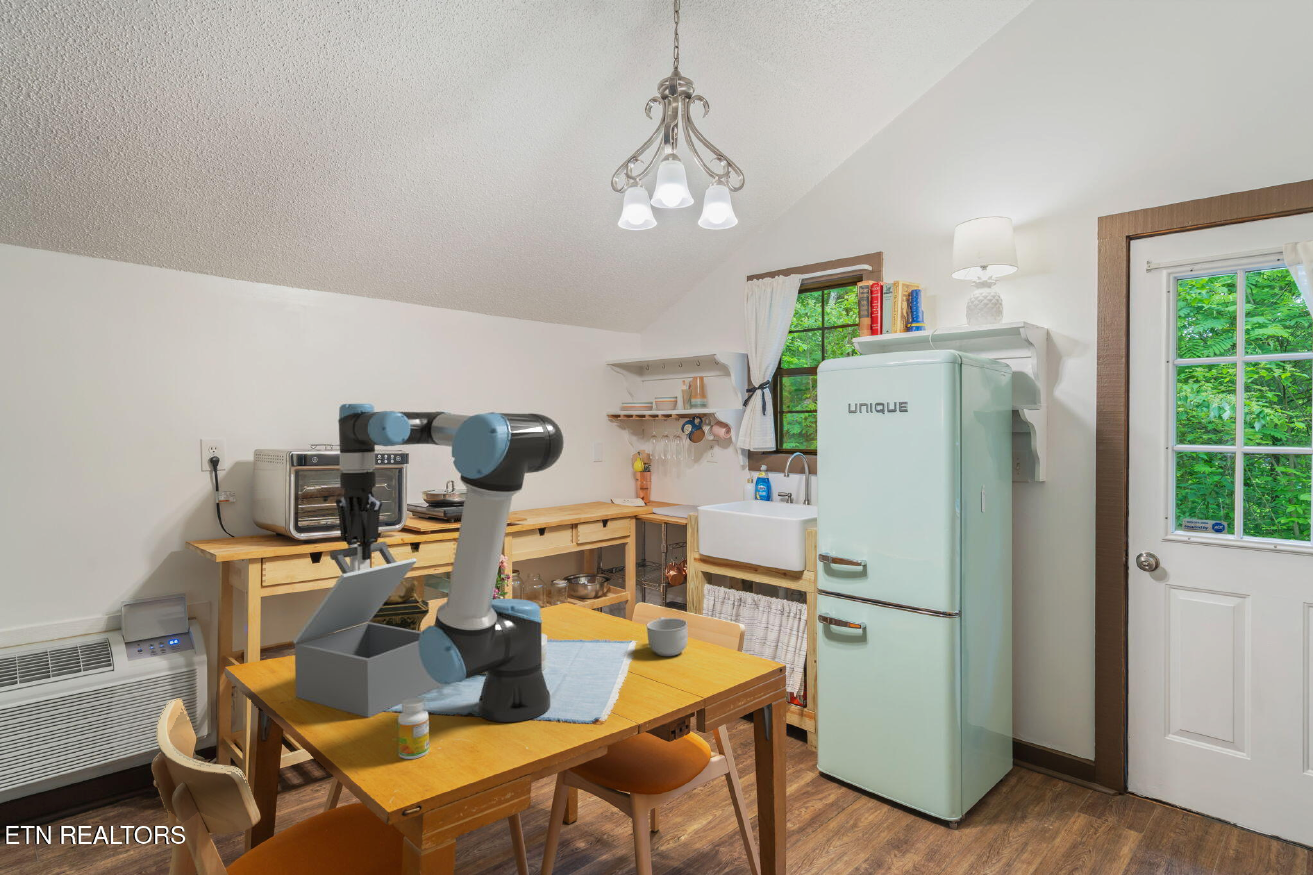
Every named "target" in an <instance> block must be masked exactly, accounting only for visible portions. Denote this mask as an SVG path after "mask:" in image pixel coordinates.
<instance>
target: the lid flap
mask: <svg viewBox="0 0 1313 875" xmlns="http://www.w3.org/2000/svg"><path fill="white" fill-rule="evenodd" d="M357 552H358V551H357V547H351V548H348V547H346V548H341V549H335V550H332V551H330V552H329V557H330V559H331V560H332V561H334V562H335V564H336V566H337V567H338V569H339V570H340V572H341V573H342V574H340V575H339V577H338V578H337V579H336V580H335V584H334V585H333V587H331V589H330V590H329V592H328V593H327V594H326V595H325V596H324V598H323V600H322V601H321V602H320V604H319V605H318V606H317V608H316V609H315V610H314V612H313V613H312V615H311V616H310V617H309V619H308V620H307V622H305V624H304V626H303V627H302V628H301V630H300V631H299V633H298V634H297V635H296V636H295V638H294V639H293V640H292V641H293V644H294V645H295V644H298V643H301V642H304V641H308V640H311V639H314V638H318V637H321V636H324V635H328V634H331V633H335V632H338V631H341V630H345V629H348V628H351V627H355V626H358V625H361V624H365V623H368V622H369V621H370V620H371V619H372V617H373V616H374V615H375V614H376V612H377V611H378V610H379V609H380V607H381V606H382V605H383V604H384V602H385V601H386V600H387V598H388V597H389V596H392V594H393V592H394V591H395V590H396V588H397V587H398V586H399V585H400V583H402V582H401V581H402V579H404V578H405V577H406V576H407V574H408V573H409V572H410V571H411V569H412V568H413V567H414V565H415V564H416V563H417V562H418V560H417V559H416V558H415V557H414V558H410V559H406V560H401V561H397V560H396V559H395V558H394V556H393V554H392V553H391V551H390V549H389V548H388V543H387V542H386V541H379V542H378V541H377V542H376V543H373V544H371V554H372V553H376V552H378V553H379V554H380V555H381V557H382V559H383V560H384V562H385V563H386V564H383V565H377V566H374V567H370V568H368V569H364V570H359V571H354V572H353V571H352V569H351V568H350V563H348V561H347V560H346V558H349V557H351V556H356V555H357Z"/></svg>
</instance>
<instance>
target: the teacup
mask: <svg viewBox="0 0 1313 875" xmlns="http://www.w3.org/2000/svg"><path fill="white" fill-rule="evenodd" d="M646 630H647V641H648V646H649V648H650V650H651V651H652V652H654V653H655V654H656V655H658V656H662V657H674V656H677V655H679V654H681V653H682V652H683V651H684V650H685V649H686V648H687V646H688V640H689V639H688V638H689V637H688V636H689V635H688V633H689V632H688V622H687V620H685V619H682V618H677V617H665V616H661V617H659V618H658V619H653V620H651V621H649V622H648V623H647V624H646Z"/></svg>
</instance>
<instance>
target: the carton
mask: <svg viewBox="0 0 1313 875" xmlns="http://www.w3.org/2000/svg"><path fill="white" fill-rule="evenodd" d="M421 632H422V631H421ZM421 632H420V631H414V630H409V629H404V628H398V627H393V626H387V625H382V624H376V623H371V622H367V623H363V624H360V625H357V626H353V627H350V628H347V629H343V630H340V631H337V632H333V633H330V634H326V635H323V636H320V637H316V638H313V639H310V640H306V641H303V642H300V643H296V644H294V659H295V660H294V664H295V665H294V666H295V668H294V669H295V670H294V671H295V672H294V673H295V698H297V699H300V700H304V701H309V702H311V703H314V704H317V705H322V706H326V707H328V708H333V709H336V710H338V711H339V710H341V711H344V712H347V713H349V714H354V715H357V716H361V717H365V718H367V719H368V718H370V717H374V716H375V715H378V714H380V713H382V712H384V711H387V710H389V709H391V707H392V708H394V707H396V706H398V705H402V702H403V701H404V700H406V699H409V698H414V697H419V696H421V695H423V694H426V693H428V692H431V691H433V690H435V689H437V688H439V687H441V684H440V683H438V682H436V681H435V680H433V679H432V678H431V677H430V676H429V674H428V673H427V672H426V670H425V668H424V666H423V663H422V661H421V658H420V655H419V647H418V643H419V637H420V634H421ZM393 706H394V707H393ZM388 708H389V709H388Z"/></svg>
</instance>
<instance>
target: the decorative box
mask: <svg viewBox="0 0 1313 875" xmlns="http://www.w3.org/2000/svg"><path fill="white" fill-rule="evenodd" d="M400 583H402V585H403V586H404V588H405V590H404V592H403V593H404V594H403V595H401V594H393V595H392V594H391V595H390V596H389V597H388V598H387V600H386V601H385V602H384V604H383V605H382V606H381V607H380V609H379V610H378V611H377V612H376V614H375V615H374V616H373V617H372V619H371V620H370V621H369V622H371V623H376V624H382V625H387V626H393V627H398V628H404V629H409V630H414V631H420V632H422V630H421V629H422V628H421V625H422V622H423V620H424V619H425V618H426V616H427V615H428V614H429V611H430V602H429V601H427V600H425V599H423V598H421V597H420V598H419V597H418V596H417V594H416V593H415V592H416V591H417V586H418V581H417V580H412V582H411V583H410V585H409V584H408V583H406V582H405V579H404V578H403V579H402V581H401V582H400Z"/></svg>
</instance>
